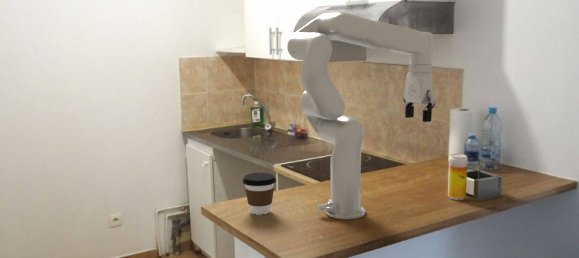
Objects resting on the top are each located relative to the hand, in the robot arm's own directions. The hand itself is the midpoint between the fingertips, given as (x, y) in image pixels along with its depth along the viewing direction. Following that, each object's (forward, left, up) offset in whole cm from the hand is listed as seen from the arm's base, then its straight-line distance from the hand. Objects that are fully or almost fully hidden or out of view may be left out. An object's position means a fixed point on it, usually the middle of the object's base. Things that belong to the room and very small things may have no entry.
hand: (417, 119), depth 190 cm
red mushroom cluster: (+27, +10, -28) cm, 40 cm away
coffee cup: (-54, +11, -28) cm, 62 cm away
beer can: (+12, -7, -28) cm, 31 cm away
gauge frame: (+21, -7, -28) cm, 35 cm away
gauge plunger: (+19, -6, -27) cm, 33 cm away
